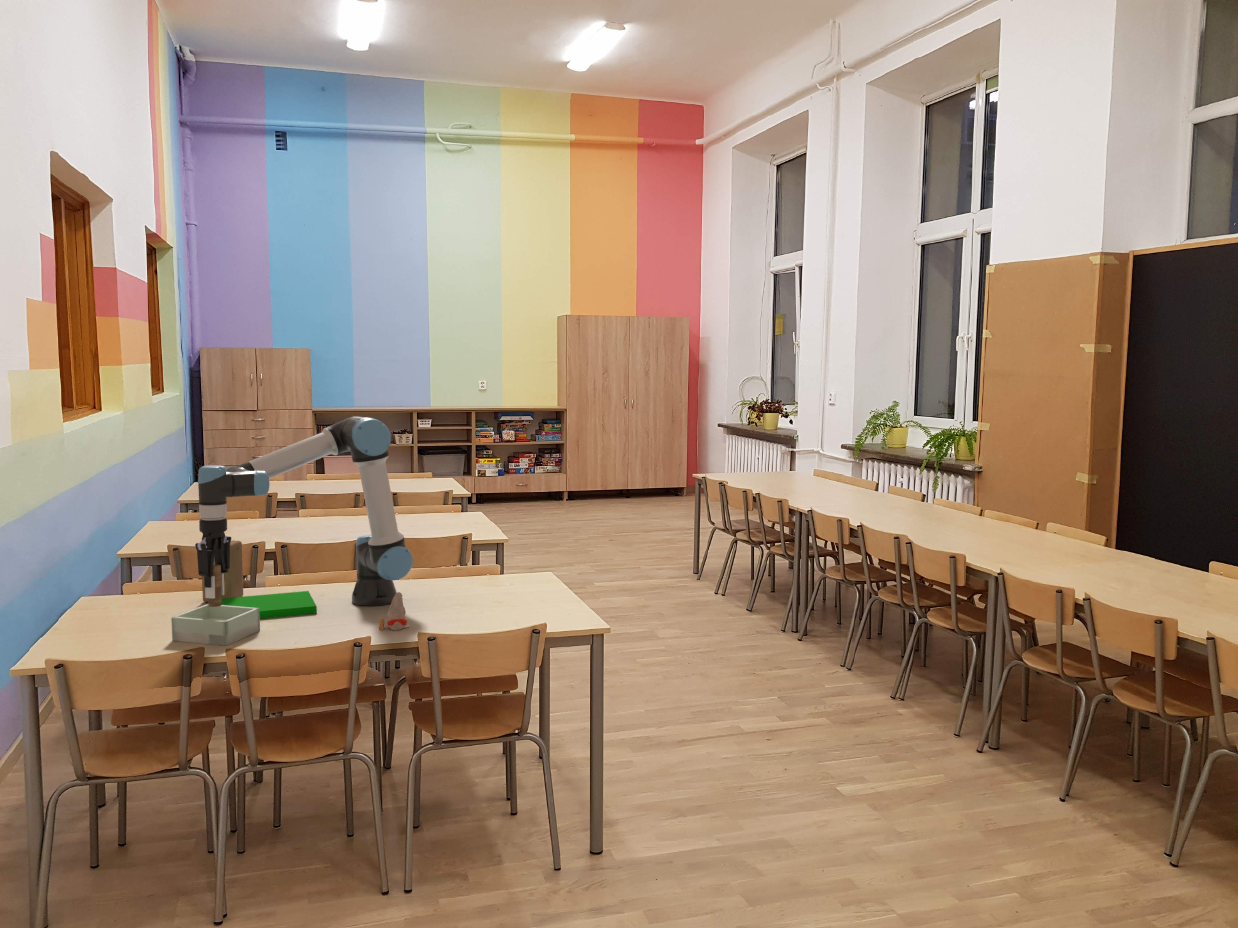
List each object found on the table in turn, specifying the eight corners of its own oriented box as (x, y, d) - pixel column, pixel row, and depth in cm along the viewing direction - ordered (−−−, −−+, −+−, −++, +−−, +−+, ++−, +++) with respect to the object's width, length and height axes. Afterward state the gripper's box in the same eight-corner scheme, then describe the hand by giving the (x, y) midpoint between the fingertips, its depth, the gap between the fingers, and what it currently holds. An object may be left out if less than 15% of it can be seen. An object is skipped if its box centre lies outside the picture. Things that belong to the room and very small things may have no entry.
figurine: (406, 623, 288) (409, 588, 285) (410, 632, 282) (413, 596, 279) (377, 625, 284) (379, 589, 281) (380, 634, 278) (383, 597, 275)
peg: (224, 604, 273) (223, 564, 272) (216, 607, 269) (215, 567, 268) (213, 603, 274) (212, 564, 273) (205, 606, 270) (204, 566, 269)
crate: (260, 630, 278) (259, 608, 278) (226, 645, 263) (225, 621, 262) (208, 625, 282) (207, 603, 282) (172, 640, 267) (171, 617, 266)
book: (220, 607, 307) (220, 598, 306) (308, 599, 319) (308, 590, 318) (223, 624, 286) (222, 615, 286) (316, 615, 298) (316, 606, 298)
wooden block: (244, 596, 319) (242, 540, 317) (229, 604, 309) (227, 545, 307) (217, 595, 320) (215, 539, 318) (201, 602, 310) (199, 544, 308)
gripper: (220, 513, 278) (221, 589, 280) (182, 521, 262) (184, 601, 264) (242, 514, 276) (243, 590, 279) (205, 523, 260) (207, 603, 262)
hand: (214, 596), depth 271 cm, fingers closed on peg, 3 cm apart
